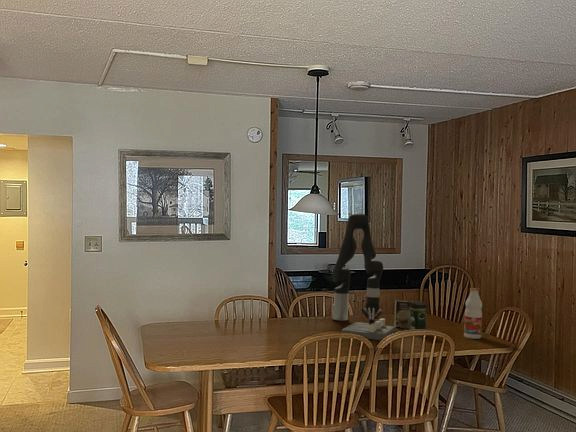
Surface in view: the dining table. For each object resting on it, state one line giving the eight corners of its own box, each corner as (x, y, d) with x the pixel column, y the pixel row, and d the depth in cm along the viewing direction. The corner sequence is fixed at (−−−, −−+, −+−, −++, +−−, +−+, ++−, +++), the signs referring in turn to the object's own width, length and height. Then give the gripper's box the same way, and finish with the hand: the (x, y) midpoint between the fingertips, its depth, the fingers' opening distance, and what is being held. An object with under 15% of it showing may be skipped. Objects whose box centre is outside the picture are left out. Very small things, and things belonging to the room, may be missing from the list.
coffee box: (394, 327, 345) (395, 301, 345) (393, 325, 352) (394, 299, 352) (410, 328, 345) (411, 302, 344) (409, 326, 351) (409, 300, 351)
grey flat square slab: (341, 334, 321) (341, 329, 321) (356, 326, 344) (356, 321, 344) (382, 340, 310) (382, 334, 310) (395, 331, 334) (395, 326, 334)
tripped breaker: (374, 329, 323) (374, 322, 323) (376, 327, 328) (376, 320, 328) (378, 329, 322) (378, 322, 322) (380, 328, 327) (381, 321, 327)
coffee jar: (419, 331, 338) (420, 300, 338) (428, 334, 331) (429, 302, 330) (406, 332, 334) (407, 300, 333) (414, 335, 327) (415, 302, 326)
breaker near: (369, 331, 315) (369, 324, 315) (372, 330, 320) (372, 323, 320) (373, 332, 314) (373, 325, 314) (376, 330, 319) (376, 323, 319)
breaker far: (378, 326, 331) (378, 319, 331) (381, 324, 336) (381, 318, 336) (382, 326, 330) (382, 320, 330) (385, 325, 335) (385, 318, 335)
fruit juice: (481, 336, 329) (483, 288, 329) (480, 339, 320) (482, 290, 320) (464, 334, 333) (466, 286, 332) (463, 337, 324) (465, 288, 323)
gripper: (359, 295, 325) (358, 325, 326) (382, 297, 320) (381, 328, 320) (363, 293, 332) (362, 323, 332) (385, 296, 326) (384, 326, 327)
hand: (371, 325), depth 326 cm, fingers closed
